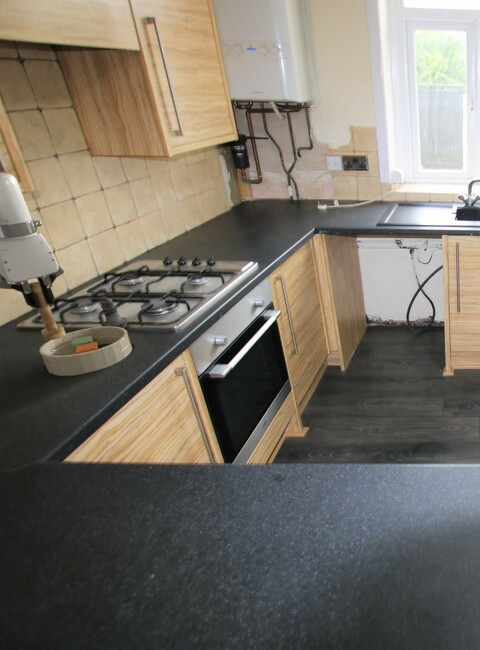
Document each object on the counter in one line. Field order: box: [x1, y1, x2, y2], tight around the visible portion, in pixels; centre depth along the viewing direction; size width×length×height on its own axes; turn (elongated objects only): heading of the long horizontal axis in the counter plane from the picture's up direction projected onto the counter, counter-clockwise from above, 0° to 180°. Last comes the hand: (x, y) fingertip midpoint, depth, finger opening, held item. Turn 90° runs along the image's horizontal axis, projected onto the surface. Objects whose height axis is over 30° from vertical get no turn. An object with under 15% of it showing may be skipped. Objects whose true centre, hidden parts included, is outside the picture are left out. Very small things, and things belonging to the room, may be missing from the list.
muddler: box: [28, 281, 67, 341], centre depth 114 cm, size 4×4×14 cm
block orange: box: [76, 342, 100, 354], centre depth 122 cm, size 4×4×4 cm
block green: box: [72, 335, 94, 354], centre depth 125 cm, size 4×4×4 cm
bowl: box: [38, 326, 133, 377], centre depth 123 cm, size 17×17×6 cm
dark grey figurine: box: [99, 295, 128, 329], centre depth 136 cm, size 6×6×12 cm
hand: (42, 304), depth 113 cm, fingers closed on muddler, 2 cm apart
